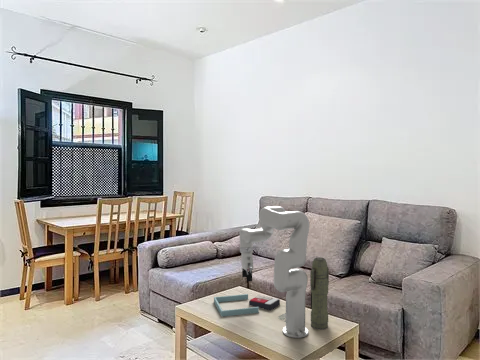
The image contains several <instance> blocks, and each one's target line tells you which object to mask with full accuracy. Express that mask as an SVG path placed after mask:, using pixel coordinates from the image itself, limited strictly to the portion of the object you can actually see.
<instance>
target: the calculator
mask: <svg viewBox="0 0 480 360" xmlns="http://www.w3.org/2000/svg"><path fill="white" fill-rule="evenodd" d="M248 305H249V306H251V307H259V309H263V310H265V311H269V312H270V311H271V312H272V311H273V310H275V309H276V308H277V307H280V306H281V301H280V299H279V298H277V297H276V298H275V297H274V298H273V297H271V296H265V295H257V296H255V297H253V298H251V299H249V300H248Z"/></svg>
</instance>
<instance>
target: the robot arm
mask: <svg viewBox="0 0 480 360" xmlns="http://www.w3.org/2000/svg"><path fill="white" fill-rule="evenodd" d="M258 218H259V226H260V228H255V229H251V228H249V227H248V228H246V227H245V228H244V227H243V228H240V229H239V253H241V255H240V256H241V259H240V260H241V261H240V262H241V271H242V272H241V273H242V274H241V275H242V278H246V282H253V270H254V257H253V252H254V247H253V245H254V244H257V243H262V242H265V241H267V240H269V239H270V238H271V237H273V235H274V229H275V230H279V231H282V230H283V231H284V230H292V229H293V231H292V233H291V234H290V236H289V239H288V241H289V242H288V243H289V244H288V248H286V249H281V250H279V251H277V253H276V255H275V257H274V260H273V261H274V263H273V279H272V280H273V286H274V288H275V290H276V291H278V292H279V293H286V295H285V313H286V318H285V321H286V322H285V326H284V327H283V328H282V333H283V334H284V335H285V336H286V337H289V338H294V339H301V338H305V337H307V336H309V329H308V328H307V327H306V295H307V294H306V293H307V292H306V291H307V288H308V287H307V286H308V279H309V278H308V274H307V272H306V271H305V270H303V269H302V268H301V267H303V266H305V264H306V260H307V249H308V248H307V247H308V237H309V233H310V220H309V218H308V216H307V214H305V213H304V212H303V211H299V210H292V211H290V210H289V211H286V209H285V208H284V207H282V206H279V205H273V206H264V207H262V208H261V209H260V211H259V213H258Z"/></svg>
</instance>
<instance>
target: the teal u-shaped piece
mask: <svg viewBox="0 0 480 360" xmlns="http://www.w3.org/2000/svg"><path fill="white" fill-rule="evenodd" d="M243 300H245V301H246V300H249V294H248V293H243V294H233V295H223V296H213V303H214V305H215V306H216V309H217V310H218V313H219V315H220V316H221V317H230V316H238V315H239V316H240V315H247V314H248V315H249V314H258V313H260V311H259V310H260V308H259V307H253V306H251V307H243V308H233V309H225V310H223V309H222V307H221V305H220V303H222V302H223V303H225V302H232V301H243Z"/></svg>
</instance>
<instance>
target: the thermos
mask: <svg viewBox="0 0 480 360" xmlns="http://www.w3.org/2000/svg"><path fill="white" fill-rule="evenodd" d="M329 269H330V268H329V267H328V262H327V259H326V258H323V257H321V256H320V257H315V258H313V261H312V263H311V269H310V276H309V277H310V293H311V310H310V327H312V328H313V329H316V330H326V329H328V327H329V311H328V294H329V285H330V282H329V279H330V278H329V277H330V274H329V272H330V270H329Z"/></svg>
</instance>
